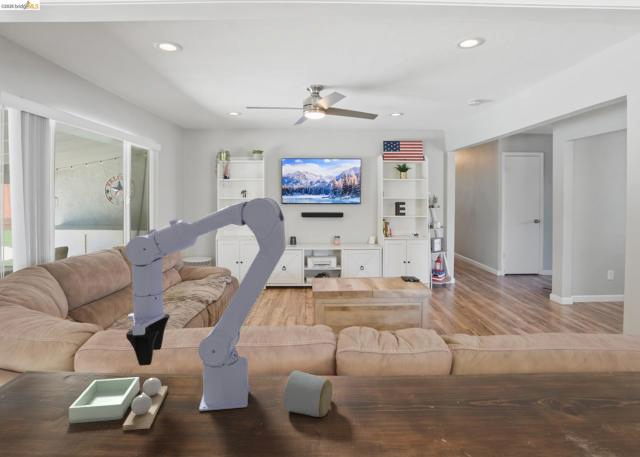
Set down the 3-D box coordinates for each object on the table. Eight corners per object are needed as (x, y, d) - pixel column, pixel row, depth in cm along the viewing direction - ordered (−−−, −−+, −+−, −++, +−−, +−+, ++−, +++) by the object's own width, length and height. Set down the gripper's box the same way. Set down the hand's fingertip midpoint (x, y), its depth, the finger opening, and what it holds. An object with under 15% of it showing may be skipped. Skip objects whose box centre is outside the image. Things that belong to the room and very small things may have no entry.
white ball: (163, 389, 82) (162, 373, 82) (158, 398, 78) (158, 381, 78) (145, 391, 81) (145, 375, 81) (140, 400, 78) (139, 383, 78)
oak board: (167, 390, 84) (167, 385, 84) (149, 428, 70) (149, 423, 70) (145, 391, 83) (145, 387, 83) (123, 430, 69) (122, 425, 69)
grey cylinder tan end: (322, 426, 71) (322, 386, 70) (282, 418, 73) (282, 379, 73) (338, 399, 81) (338, 363, 80) (302, 392, 83) (302, 358, 83)
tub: (139, 389, 84) (139, 376, 84) (121, 419, 73) (120, 404, 73) (95, 393, 83) (94, 380, 82) (69, 423, 72) (68, 408, 71)
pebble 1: (154, 407, 75) (153, 390, 75) (149, 417, 72) (148, 399, 71) (135, 409, 75) (134, 391, 74) (128, 419, 71) (128, 401, 71)
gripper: (138, 285, 85) (141, 344, 86) (114, 303, 70) (117, 373, 72) (171, 284, 86) (173, 342, 87) (154, 301, 72) (156, 371, 73)
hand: (150, 356), depth 79 cm, fingers open, 7 cm apart
